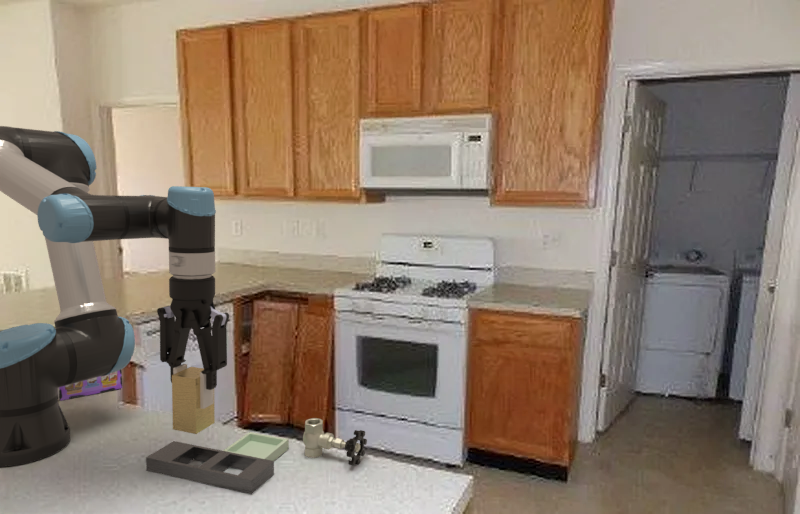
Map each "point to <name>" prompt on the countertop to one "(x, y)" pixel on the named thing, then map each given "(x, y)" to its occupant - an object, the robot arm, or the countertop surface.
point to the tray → (259, 446)
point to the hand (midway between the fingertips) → (193, 403)
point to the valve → (331, 441)
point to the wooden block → (189, 402)
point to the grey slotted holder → (210, 466)
